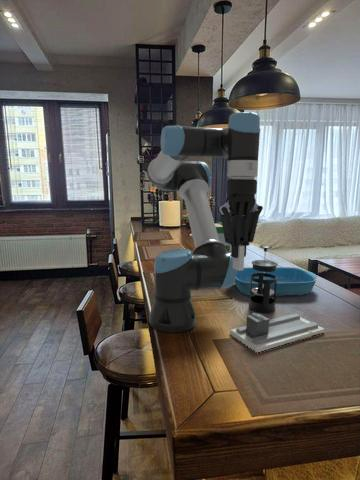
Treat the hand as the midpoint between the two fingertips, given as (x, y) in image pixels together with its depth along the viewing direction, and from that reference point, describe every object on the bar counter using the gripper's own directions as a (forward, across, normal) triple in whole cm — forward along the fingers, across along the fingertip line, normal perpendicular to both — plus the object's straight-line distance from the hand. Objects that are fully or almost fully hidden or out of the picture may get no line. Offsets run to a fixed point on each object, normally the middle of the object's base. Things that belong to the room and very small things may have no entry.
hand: (238, 269), depth 84 cm
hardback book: (+22, +37, +65) cm, 78 cm away
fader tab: (+20, +8, 0) cm, 22 cm away
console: (+22, +16, 0) cm, 27 cm away
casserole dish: (+23, +43, +32) cm, 58 cm away
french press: (+22, +25, +17) cm, 38 cm away
